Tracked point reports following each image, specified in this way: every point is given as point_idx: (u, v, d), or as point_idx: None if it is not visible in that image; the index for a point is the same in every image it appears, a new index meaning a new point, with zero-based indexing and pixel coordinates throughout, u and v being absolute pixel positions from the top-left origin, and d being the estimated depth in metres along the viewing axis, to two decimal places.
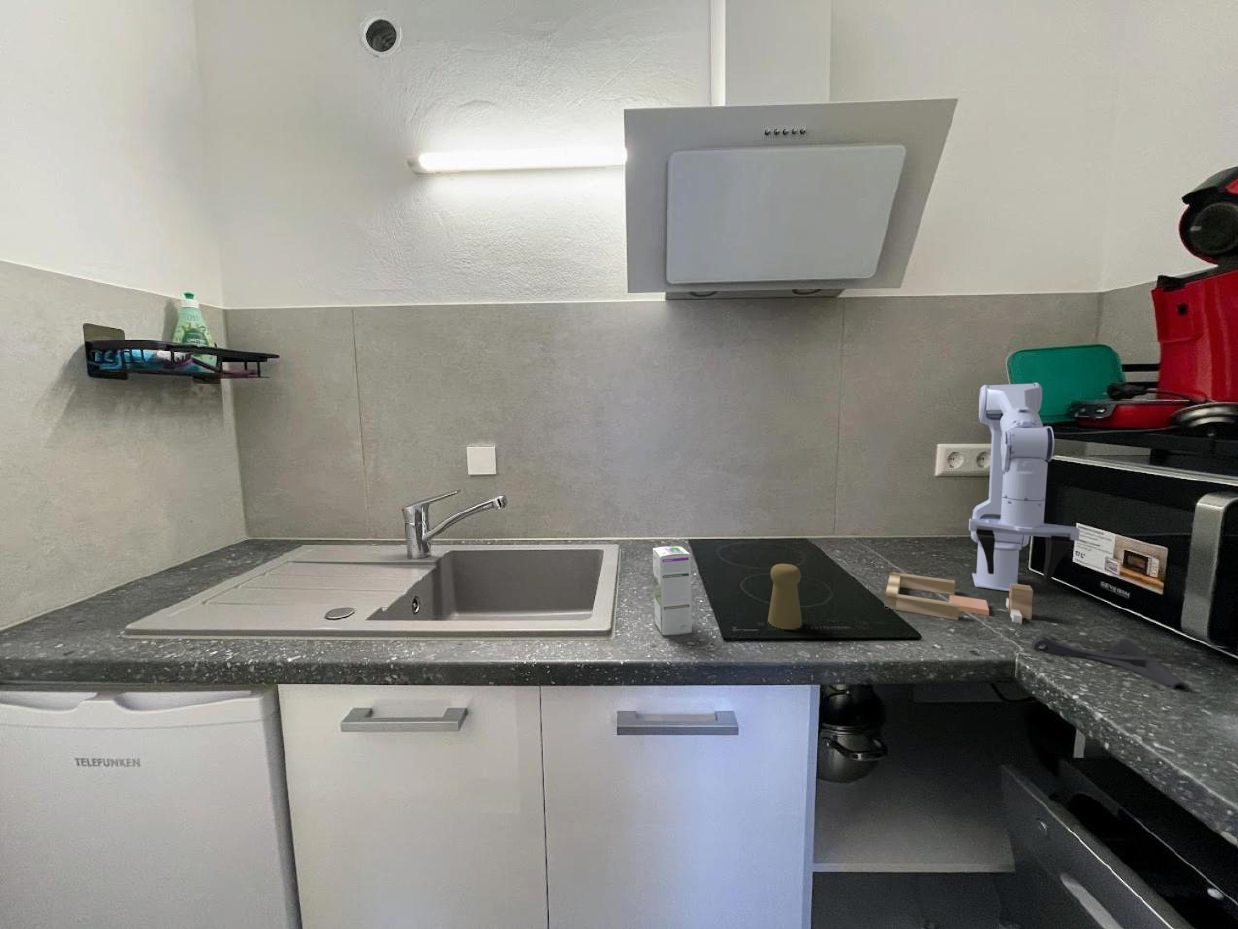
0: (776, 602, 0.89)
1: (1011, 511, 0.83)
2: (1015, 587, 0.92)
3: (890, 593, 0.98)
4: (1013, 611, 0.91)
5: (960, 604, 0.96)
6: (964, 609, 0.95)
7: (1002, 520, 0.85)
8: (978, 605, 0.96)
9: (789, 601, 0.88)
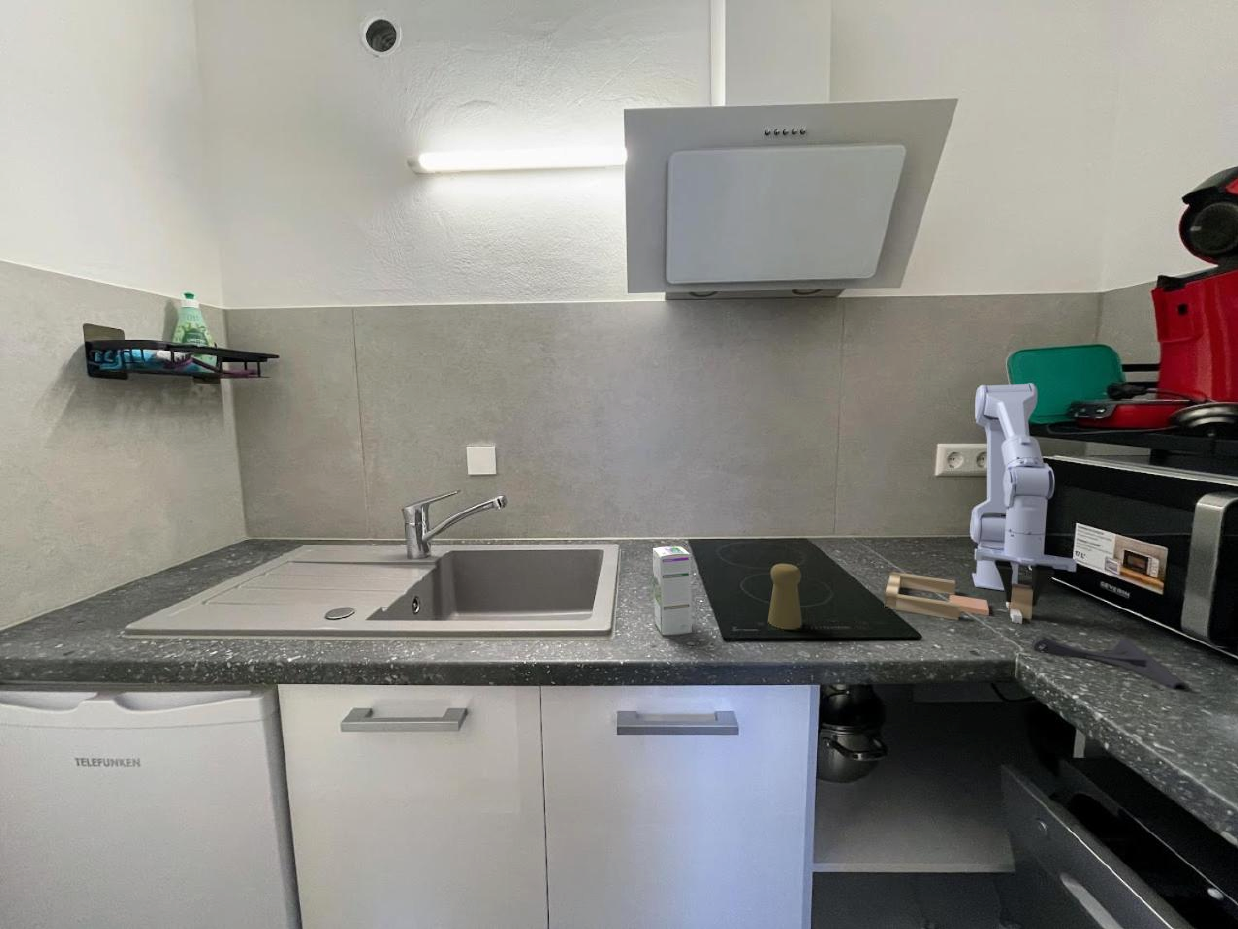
0: (776, 602, 0.89)
1: (1014, 543, 0.91)
2: (1015, 587, 0.92)
3: (890, 593, 0.98)
4: (1013, 611, 0.91)
5: (960, 604, 0.96)
6: (964, 609, 0.95)
7: (1005, 551, 0.93)
8: (978, 605, 0.96)
9: (789, 601, 0.88)
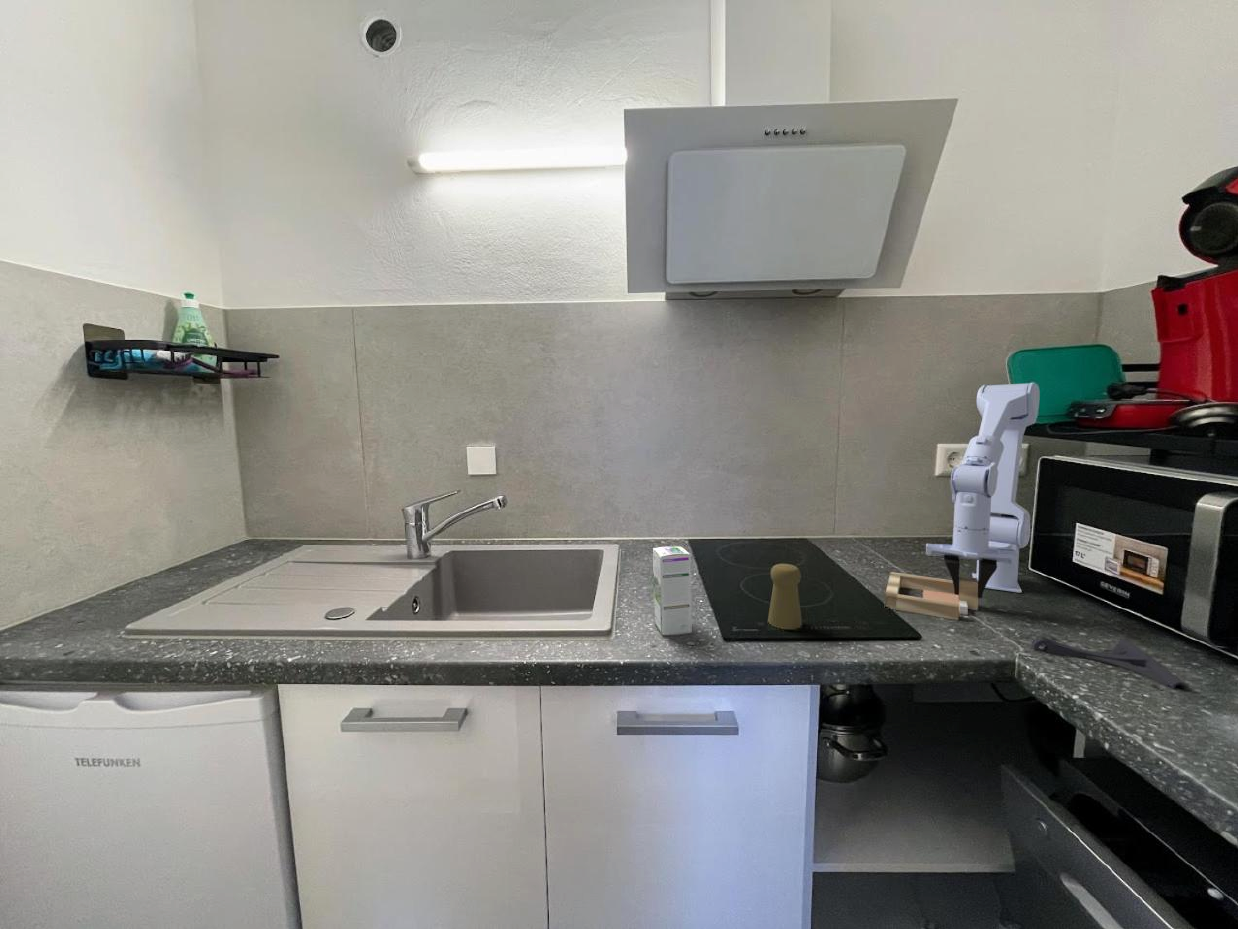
0: (776, 602, 0.89)
1: (960, 538, 0.95)
2: (962, 579, 0.97)
3: (890, 593, 0.98)
4: (960, 602, 0.95)
5: (932, 599, 0.98)
6: None
7: (953, 546, 0.97)
8: (950, 599, 0.98)
9: (789, 601, 0.88)
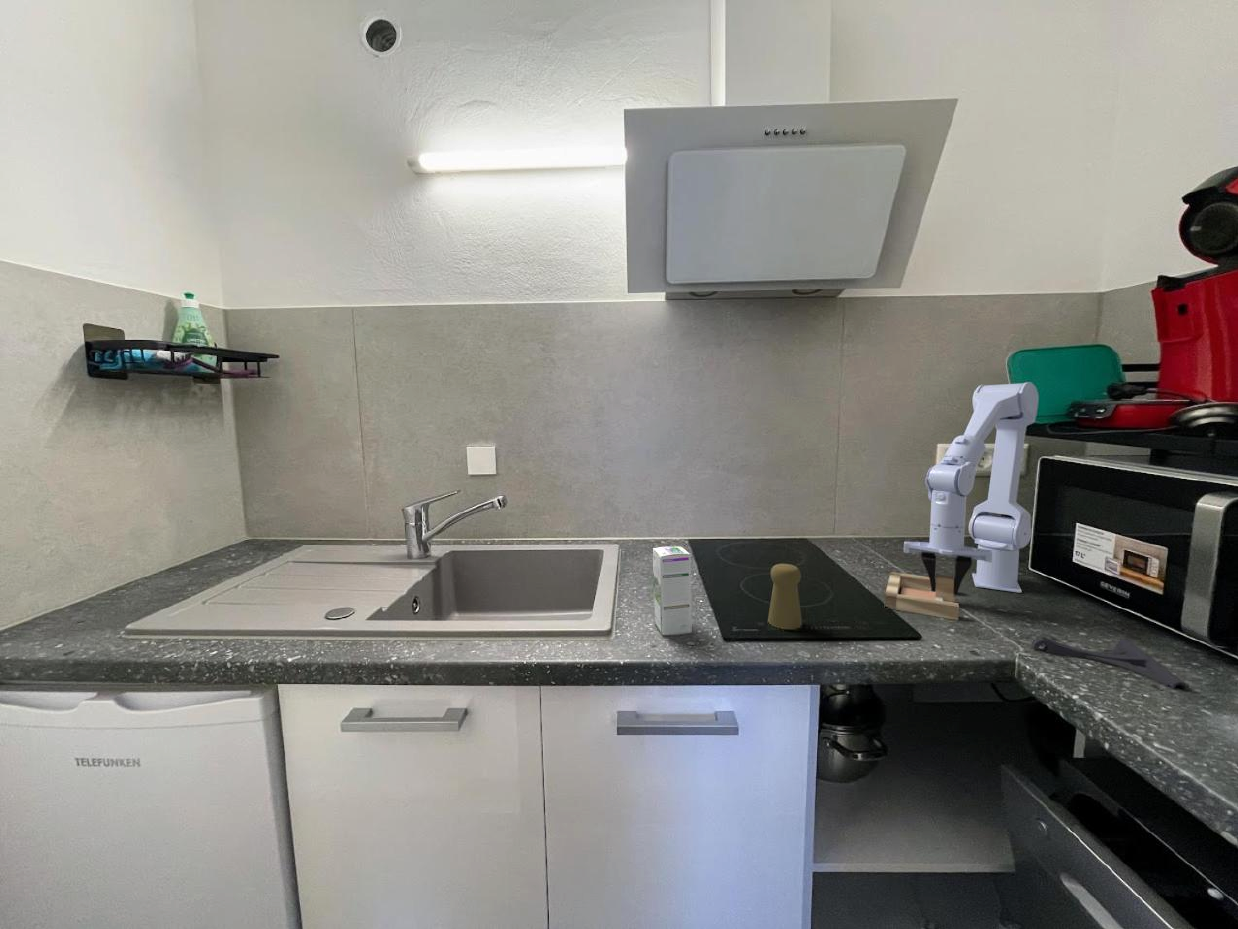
0: (776, 602, 0.89)
1: (936, 536, 0.97)
2: (939, 576, 0.99)
3: (890, 593, 0.98)
4: (936, 599, 0.98)
5: None
6: None
7: (930, 543, 0.99)
8: (927, 596, 1.00)
9: (789, 601, 0.88)
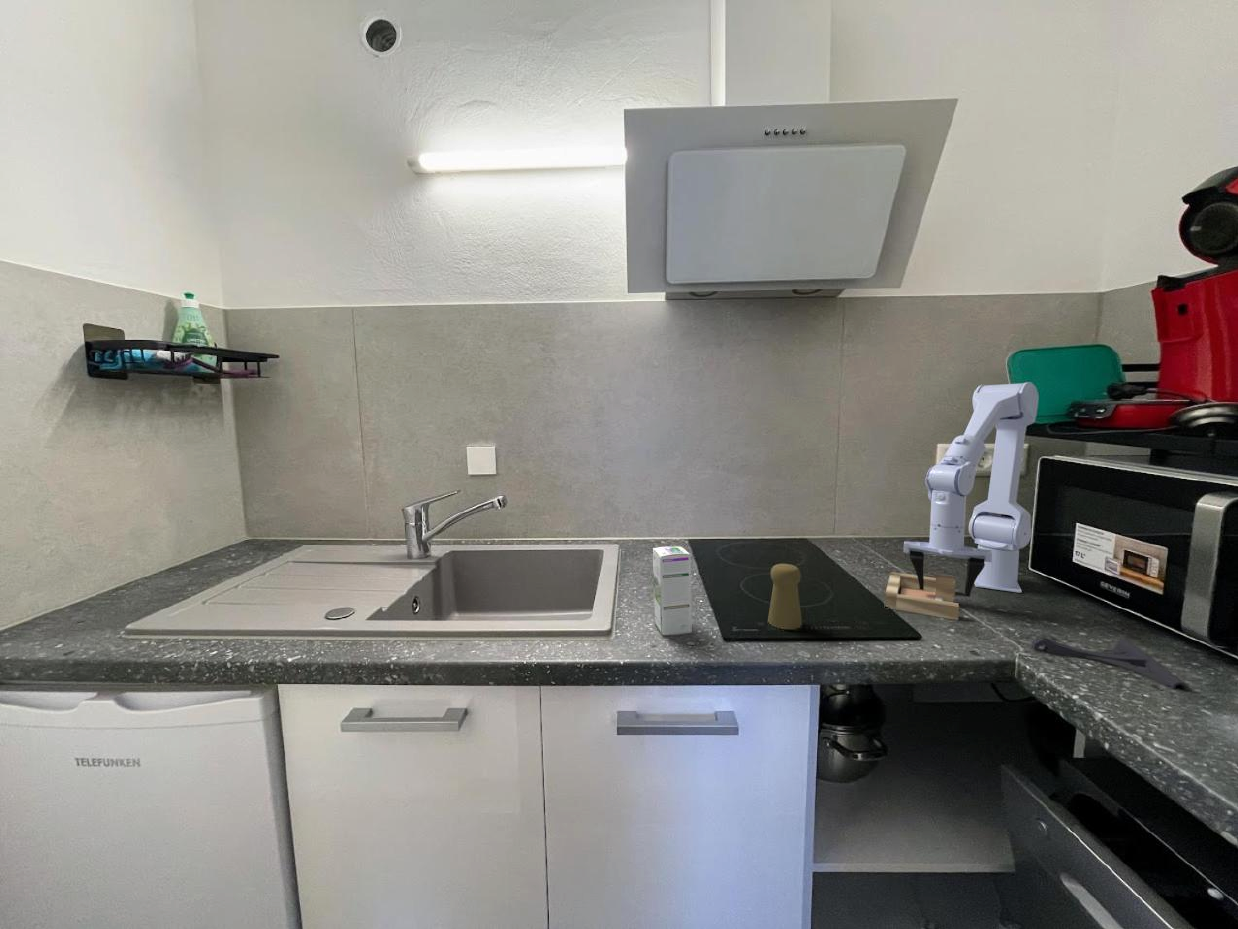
0: (776, 602, 0.89)
1: (936, 536, 0.97)
2: (939, 577, 0.99)
3: (890, 593, 0.98)
4: (936, 599, 0.98)
5: None
6: None
7: (930, 543, 0.99)
8: (926, 597, 1.00)
9: (789, 601, 0.88)
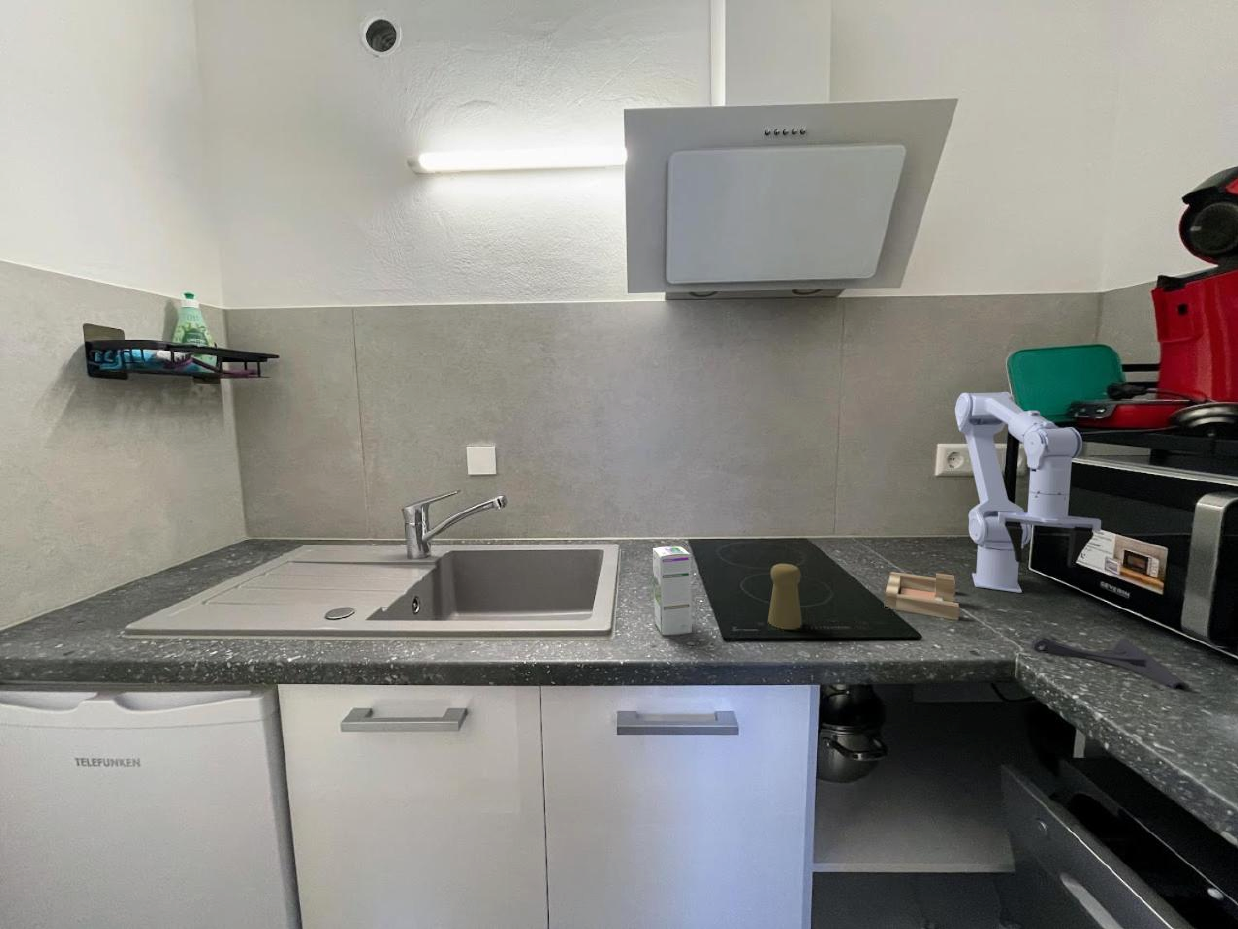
0: (776, 602, 0.89)
1: (1038, 504, 0.91)
2: (939, 577, 0.99)
3: (890, 593, 0.98)
4: (936, 599, 0.98)
5: None
6: None
7: (1029, 513, 0.93)
8: (926, 597, 1.00)
9: (789, 601, 0.88)
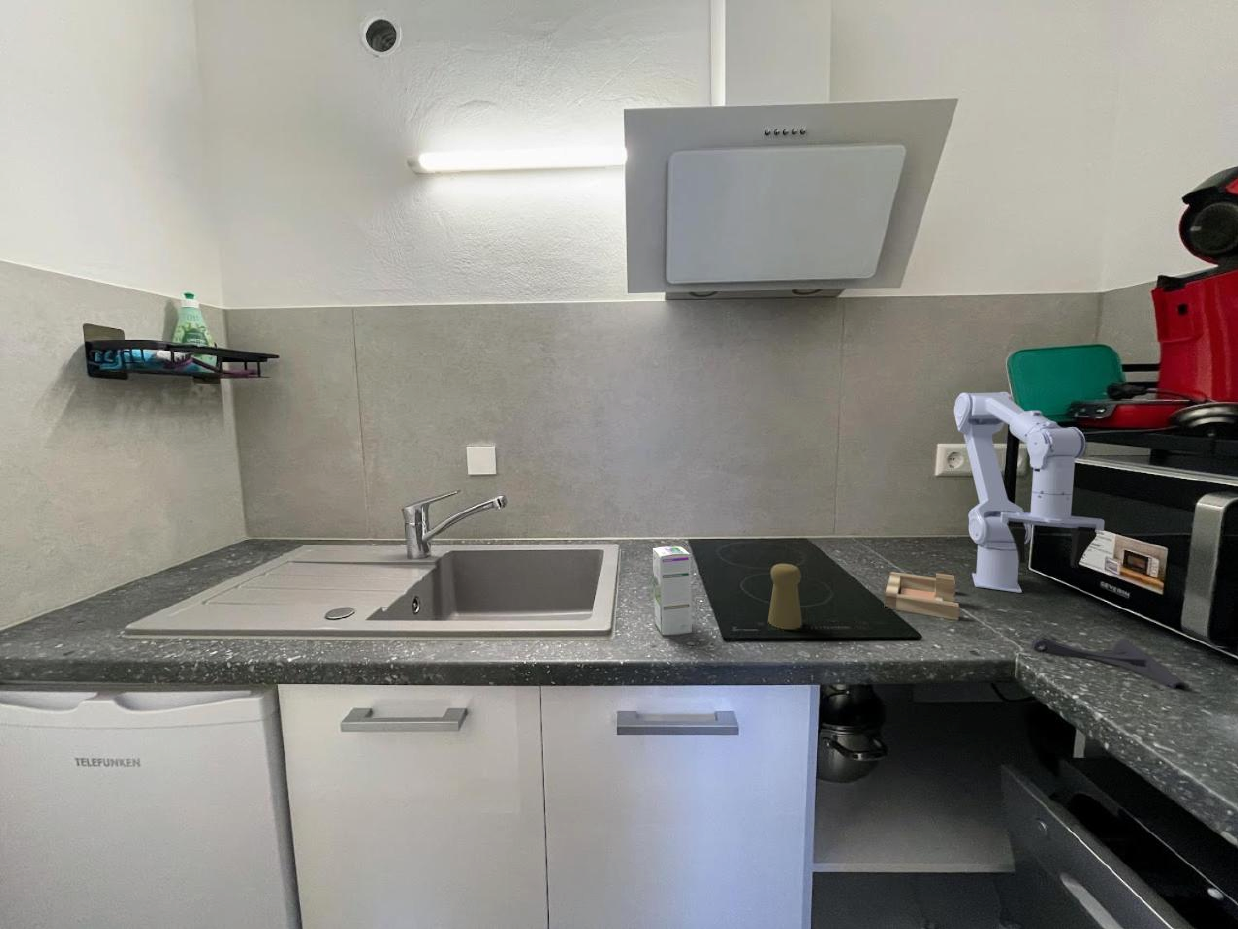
0: (776, 602, 0.89)
1: (1041, 504, 0.91)
2: (939, 577, 0.99)
3: (890, 593, 0.98)
4: (936, 599, 0.98)
5: None
6: None
7: (1032, 513, 0.93)
8: (926, 597, 1.00)
9: (789, 601, 0.88)
